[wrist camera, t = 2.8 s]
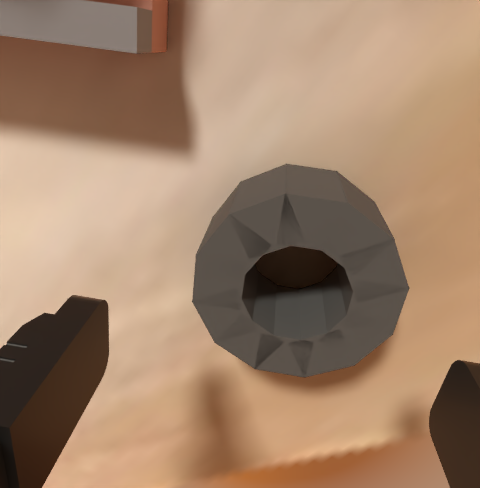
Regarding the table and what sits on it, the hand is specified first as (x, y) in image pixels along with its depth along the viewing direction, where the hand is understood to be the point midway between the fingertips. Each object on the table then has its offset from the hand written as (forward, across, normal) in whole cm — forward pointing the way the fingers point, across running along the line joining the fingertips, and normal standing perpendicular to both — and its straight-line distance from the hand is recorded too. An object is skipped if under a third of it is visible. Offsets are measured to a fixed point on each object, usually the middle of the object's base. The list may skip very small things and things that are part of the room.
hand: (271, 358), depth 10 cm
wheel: (+6, -1, 0) cm, 6 cm away
